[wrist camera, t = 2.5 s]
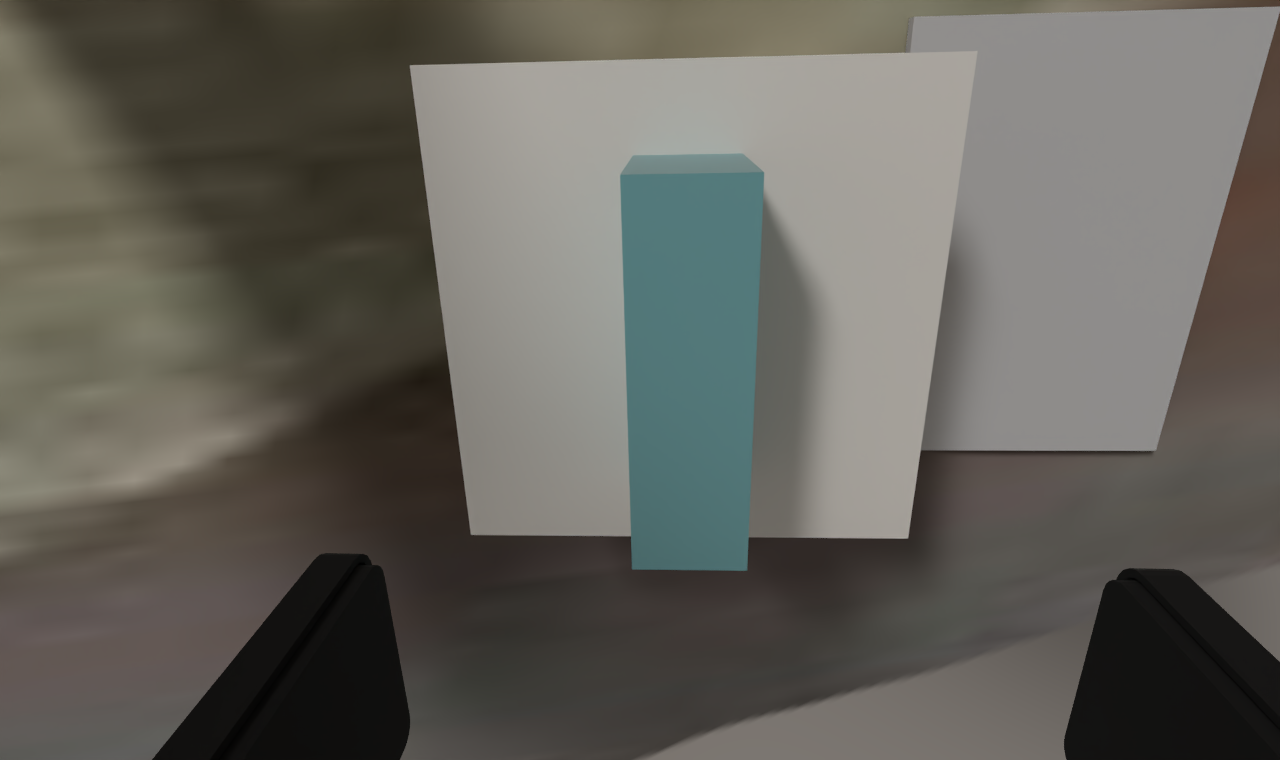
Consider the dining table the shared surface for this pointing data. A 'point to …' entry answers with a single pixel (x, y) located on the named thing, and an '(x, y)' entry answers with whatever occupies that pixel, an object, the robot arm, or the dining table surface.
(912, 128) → the lid
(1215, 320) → the dining table surface
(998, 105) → the mat
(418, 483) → the dining table surface
